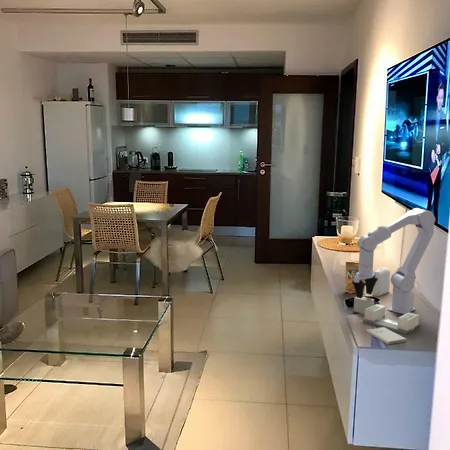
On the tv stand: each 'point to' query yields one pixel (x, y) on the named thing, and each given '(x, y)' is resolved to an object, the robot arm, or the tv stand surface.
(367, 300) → the block
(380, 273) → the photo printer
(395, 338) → the external hard drive
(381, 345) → the tv stand surface
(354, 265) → the candy box
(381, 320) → the rail panel
